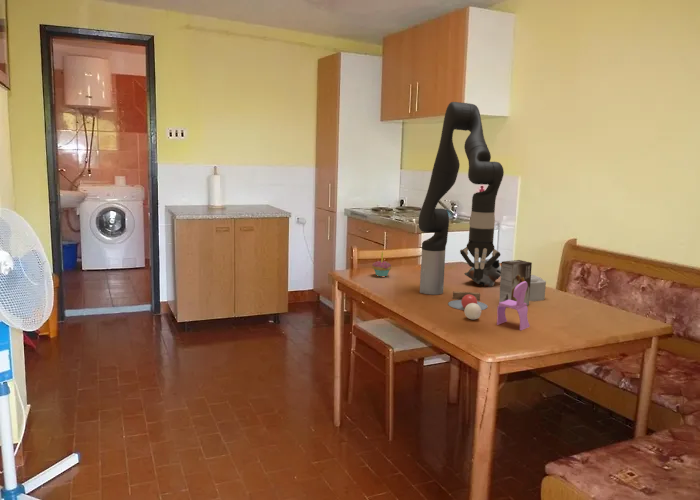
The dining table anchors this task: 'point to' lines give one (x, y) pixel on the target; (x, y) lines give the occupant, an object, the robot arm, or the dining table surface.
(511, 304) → the toy chair
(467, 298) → the red ball
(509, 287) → the coffee box
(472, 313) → the cream ball
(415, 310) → the dining table surface
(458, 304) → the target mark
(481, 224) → the robot arm
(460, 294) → the strip
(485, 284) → the lucky cat figurine
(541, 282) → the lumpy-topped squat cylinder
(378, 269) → the cupcake
